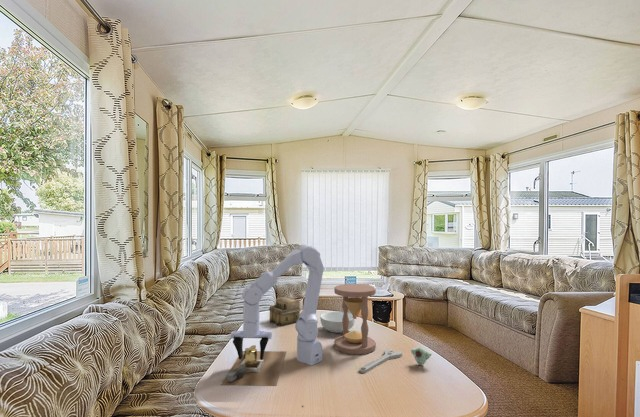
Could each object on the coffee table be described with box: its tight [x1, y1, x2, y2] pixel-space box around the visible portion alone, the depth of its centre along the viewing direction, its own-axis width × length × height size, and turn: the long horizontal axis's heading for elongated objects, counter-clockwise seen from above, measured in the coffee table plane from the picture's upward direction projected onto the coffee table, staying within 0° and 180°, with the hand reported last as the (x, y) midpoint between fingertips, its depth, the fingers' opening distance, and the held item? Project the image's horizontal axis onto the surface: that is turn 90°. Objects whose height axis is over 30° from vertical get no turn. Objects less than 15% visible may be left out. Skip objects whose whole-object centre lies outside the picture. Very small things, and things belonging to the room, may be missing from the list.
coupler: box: [244, 344, 258, 368], centre depth 122 cm, size 5×4×7 cm
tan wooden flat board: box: [220, 347, 287, 387], centre depth 123 cm, size 18×28×4 cm, turn 179°
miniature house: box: [268, 296, 302, 327], centre depth 181 cm, size 15×14×11 cm
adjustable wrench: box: [358, 348, 403, 374], centre depth 131 cm, size 25×6×2 cm, turn 132°
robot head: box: [410, 346, 433, 366], centre depth 127 cm, size 8×4×7 cm, turn 52°
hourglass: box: [333, 283, 377, 355], centre depth 146 cm, size 18×18×25 cm
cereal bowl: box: [319, 310, 356, 334], centre depth 167 cm, size 17×17×7 cm
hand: (251, 358), depth 123 cm, fingers open, 7 cm apart
